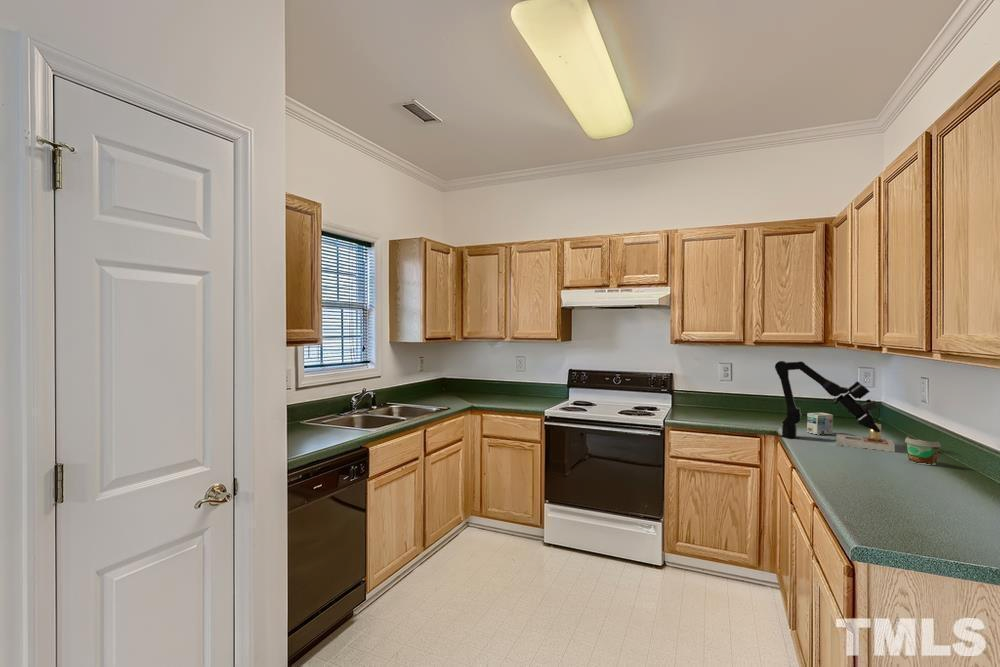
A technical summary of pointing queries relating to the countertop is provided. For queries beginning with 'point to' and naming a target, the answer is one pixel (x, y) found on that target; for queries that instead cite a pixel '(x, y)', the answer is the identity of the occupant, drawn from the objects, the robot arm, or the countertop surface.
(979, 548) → the countertop surface
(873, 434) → the brass peg
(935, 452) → the food container
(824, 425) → the light bulb box
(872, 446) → the socket plate
